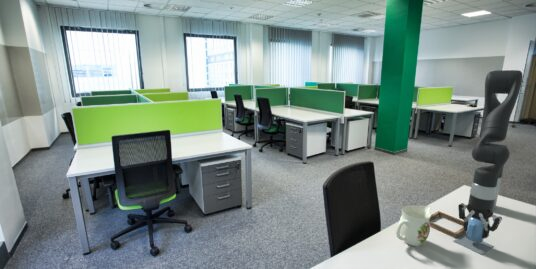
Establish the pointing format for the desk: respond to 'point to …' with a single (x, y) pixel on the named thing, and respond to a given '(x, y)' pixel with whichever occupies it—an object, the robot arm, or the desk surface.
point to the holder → (444, 230)
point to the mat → (473, 244)
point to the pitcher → (414, 225)
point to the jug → (475, 230)
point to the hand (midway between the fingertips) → (475, 233)
